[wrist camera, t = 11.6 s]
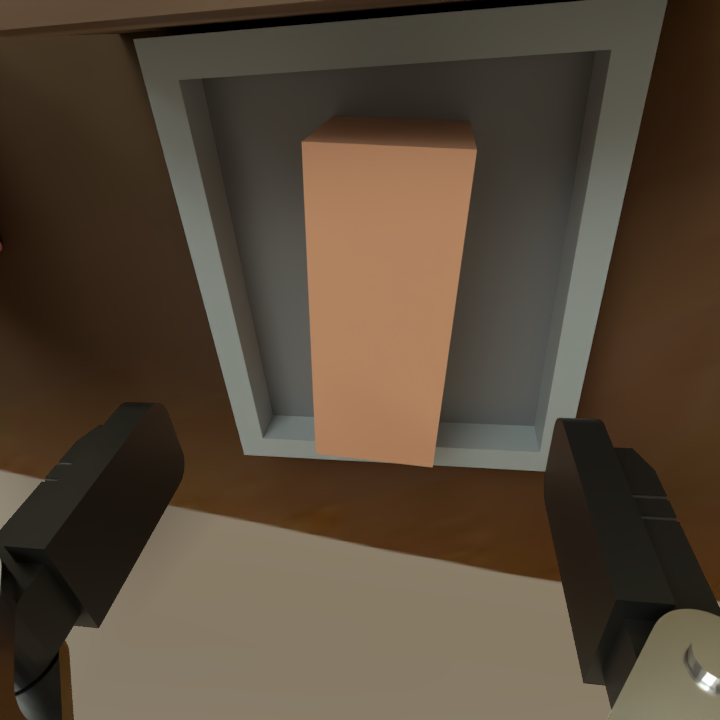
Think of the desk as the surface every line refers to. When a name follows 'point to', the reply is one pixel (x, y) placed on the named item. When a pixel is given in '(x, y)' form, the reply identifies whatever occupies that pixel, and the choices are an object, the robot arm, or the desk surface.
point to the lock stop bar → (383, 279)
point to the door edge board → (172, 13)
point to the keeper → (486, 209)
